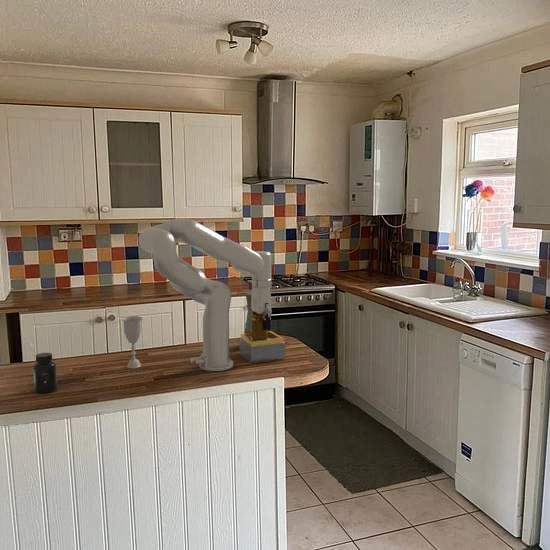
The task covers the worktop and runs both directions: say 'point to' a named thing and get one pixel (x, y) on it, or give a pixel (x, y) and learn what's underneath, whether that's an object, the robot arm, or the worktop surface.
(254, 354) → the gold-rimmed square tray
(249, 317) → the bottle
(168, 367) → the worktop surface
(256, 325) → the condiment
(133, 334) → the chalice
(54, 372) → the supplement bottle
